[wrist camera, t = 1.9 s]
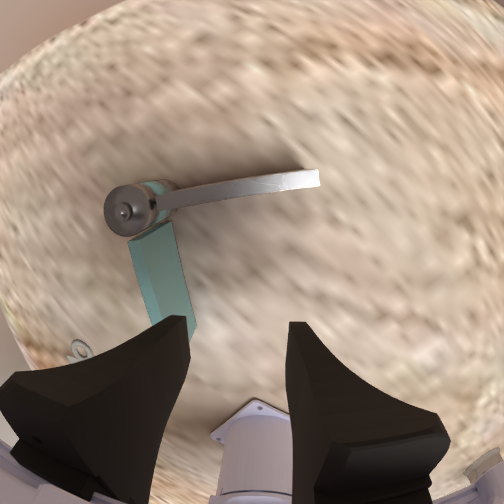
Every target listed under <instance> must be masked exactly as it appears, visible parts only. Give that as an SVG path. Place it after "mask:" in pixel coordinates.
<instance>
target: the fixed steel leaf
mask: <svg viewBox="0 0 504 504" xmlns="http://www.w3.org/2000/svg"><path fill="white" fill-rule="evenodd" d="M155 182H159V183H161V184H163V185H164V186H165V187H166V188H167V189H168V191H169V192H168V193H165V194H161V195H156V193H155V192H154V191H153V190H152V189H151V188H150V187H149V186H147V185H145V184H131V185H126V186H120V187H117V188H115V189H114V190H112V191H111V192H110V193H109V195H108V196H107V198H106V200H105V203H104V217H105V220H106V223H107V225H108V226H109V228H110V229H111V230H112V231H113V232H114V233H116V234H117V235H120V236H123V237H130V236H134V235H136V234H138V233H139V232H141V231H143V230H145V229H147V228H149V227H150V226H152V225H153V224H154V223H155V221H156V220H157V218H158V215H159V211H164V210H169V209H170V212H169V214H168V215H167V217H169V216H171V215H173V214H174V213H175V212H176V211H177V210H178V208H180V207H185V206H190V205H196V204H201V203H207V202H213V201H219V200H225V199H231V198H237V197H243V196H250V195H256V194H263V193H270V192H277V191H284V190H292V189H300V188H308V187H316V186H320V181H319V174H318V169H300V170H292V171H284V172H277V173H270V174H263V175H256V176H250V177H243V178H237V179H231V180H225V181H220V182H214V183H209V184H203V185H198V186H193V187H188V188H183V189H178V188H177V186H176V185H175V184H174V183H172V182H171V181H168V180H156V181H155ZM167 217H166V218H167ZM166 218H165V219H166ZM163 220H164V219H163Z"/></svg>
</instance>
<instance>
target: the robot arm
mask: <svg viewBox="0 0 504 504" xmlns="http://www.w3.org/2000/svg"><path fill="white" fill-rule="evenodd" d="M190 359H191V356H190V347H189V338H188V329H187V319H186V316H181V315H170V316H168V317H166V318H164V319H163V320H161V321H160V322H158V323H156V324H155V325H153V326H152V327H150V328H148V329H147V330H145V331H144V332H142V333H140V334H139V335H137V336H135V337H134V338H132V339H130V340H128V341H126V342H124V343H123V344H121V345H119V346H117V347H115V348H113V349H111V350H109V351H107V352H104V353H102V354H99V355H97V356H94V357H92V358H89V359H85V360H82V361H79V362H76V363H73V364H69V365H65V366H60V367H55V368H50V369H43V370H33V371H19V372H14V374H13V375H11V376H10V378H9V379H8V380H7V381H6V382H5V383H4V384H3V385H2V386H1V387H0V411H1V412H2V414H3V416H4V417H5V419H6V420H7V422H8V423H9V425H10V426H11V428H12V429H13V430H14V432H15V433H16V435H17V436H18V437H19V438H20V439H19V440H18V442H17V443H16V444H15V446H14V447H13V448H12V447H10V446H9V445H8V444H6V443H5V442H3V441H2V440H1V439H0V504H148V502H149V495H150V489H151V484H152V478H153V473H154V468H155V464H156V460H157V455H158V451H159V447H160V444H161V440H162V436H163V433H164V429H165V426H166V424H167V421H168V418H169V416H170V414H171V411H172V409H173V407H174V404H175V402H176V400H177V397H178V395H179V393H180V390H181V388H182V386H183V383H184V381H185V378H186V375H187V371H188V367H189V363H190ZM285 377H286V392H287V400H288V407H289V415H288V414H286V413H284V412H282V411H279V410H277V409H275V408H273V407H271V406H269V405H267V404H265V403H263V402H261V401H259V400H252V401H251V402H249V403H248V404H247V405H246V406H245V407H243V408H242V409H241V410H240V411H239V412H237V413H236V414H235V415H234V416H232V417H231V418H230V419H229V420H227V421H226V422H225V423H224V424H222V425H221V426H220V427H219V428H217V429H216V430H215V431H213V432H212V433H211V434H210V438H211V439H213V440H215V441H218V442H220V443H222V444H224V445H225V446H224V452H223V458H222V464H221V469H220V475H219V481H218V487H217V492H216V496H213V495H211V496H210V499H209V504H504V461H502V462H500V463H498V464H497V465H495V466H493V467H491V468H490V469H489V470H487V471H486V472H485V473H484V474H482V475H481V476H480V477H479V479H478V480H477V481H476V482H475V483H474V484H472V485H470V486H468V487H465V488H463V489H461V490H459V491H456V492H454V493H452V494H449V495H447V496H444V497H441V498H439V499H436V500H433V501H432V499H431V496H430V493H429V490H428V488H429V487H430V486H431V485H432V481H431V479H430V476H429V474H430V473H431V471H432V470H433V469H434V468H435V467H436V466H437V464H438V463H439V462H440V461H441V460H442V458H443V457H444V456H445V454H446V452H447V451H448V449H449V446H450V442H451V440H450V437H449V435H448V433H447V431H446V429H445V427H444V425H443V423H442V421H441V420H440V418H439V416H438V415H437V413H433V412H430V411H427V410H424V409H421V408H418V407H415V406H412V405H409V404H407V403H405V402H402V401H400V400H398V399H396V398H394V397H391V396H390V395H388V394H386V393H384V392H382V391H380V390H379V389H377V388H375V387H374V386H372V385H370V384H369V383H367V382H366V381H364V380H363V379H361V378H360V377H359V376H357V375H356V374H355V373H353V372H352V371H351V370H349V369H348V368H347V367H346V366H345V365H344V364H343V363H341V362H340V361H339V360H338V359H337V358H336V357H335V356H334V355H333V354H332V353H331V352H330V350H329V349H328V348H327V347H326V346H325V345H324V344H323V343H322V341H321V340H320V339H319V338H318V337H317V335H316V334H315V333H314V332H313V330H312V329H311V328H310V326H309V325H308V324H307V323H306V322H289V333H288V343H287V353H286V363H285ZM259 406H261V407H259Z"/></svg>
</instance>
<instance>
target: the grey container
mask: <svg viewBox="0 0 504 504" xmlns="http://www.w3.org/2000/svg"><path fill="white" fill-rule="evenodd" d="M502 461H503V459H502V457H501V455H500V449H499V448H495V449H493V450H491V451H489V452H487V453H486V454H484V455H483V456H482V457H480V458H479V459H478V460H476V461H475V462H474V463H473V464H472V465H470V466H469V467H468V468H467V470H466V471H465V472H464V475H465V476H467V477H468V478H469V481H470V483H471V485H472V484H474V483H475V482H476V481H477V480H478V479H479V477H480V476H481V475H482V474H484V473H485V472H486V471H487V470H489V469H490V468H491V467H493V466H495V465H497V464H498V463H500V462H502Z"/></svg>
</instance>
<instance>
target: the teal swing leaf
mask: <svg viewBox="0 0 504 504" xmlns="http://www.w3.org/2000/svg"><path fill="white" fill-rule="evenodd" d="M137 184H145V185H147V186H149V187H150V188H151V189H152V190H153V191H154V192H155V193H156V195H161V194H165V193H168V192H169V191H168V189H167V188H166V187H165V186H164V185H163V184H161V183H159V182H155V181H150V182H143V183H137ZM169 212H170V209H169V210H164V211H159V215H158V218H157V220H156V221H155V223H154V224H156V223H158V222H160V221H162V220H163V219H165V218H166V217H167V215H168V214H169ZM154 224H153V225H154ZM128 246H129V250H130V254H131V257H132V261H133V265H134V268H135V272H136V276H137V279H138V283H139V286H140V289H141V293H142V296H143V299H144V302H145V306H146V309H147V312H148V315H149V318H150V321H151V324H152V326H153V325H155V324H156V323H158V322H160V321H161V320H163V319H164V318H166V317H168V316H170V315H181V316H186V319H187V329H188V338H189V342H190V340H191V338H192V335H193V333H194V331H195V329H196V326H197V324H196V321H195V317H194V314H193V310H192V306H191V302H190V299H189V295H188V291H187V287H186V283H185V279H184V275H183V271H182V266H181V262H180V258H179V254H178V249H177V245H176V240H175V236H174V231H173V226H172V222H171V221H170V222H165V223H160V224H158V225H157V226H155V227H153V228H151V229H149V230H148V231H146V232H144V233H142V234H140V235H139V236H137V237H135V238H133V239H132V240H130V241H128Z"/></svg>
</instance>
